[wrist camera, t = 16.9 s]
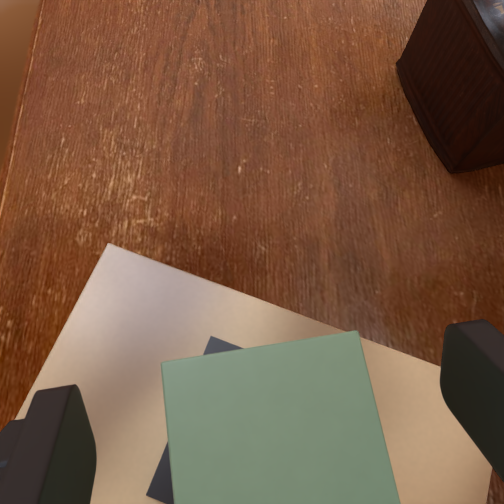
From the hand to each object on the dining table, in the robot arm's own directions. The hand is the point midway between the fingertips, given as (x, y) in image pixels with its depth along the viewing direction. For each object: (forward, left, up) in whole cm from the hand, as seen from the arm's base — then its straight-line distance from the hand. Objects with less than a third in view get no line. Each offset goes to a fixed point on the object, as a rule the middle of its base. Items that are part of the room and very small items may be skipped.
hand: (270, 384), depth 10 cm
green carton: (+1, -1, -11) cm, 11 cm away
